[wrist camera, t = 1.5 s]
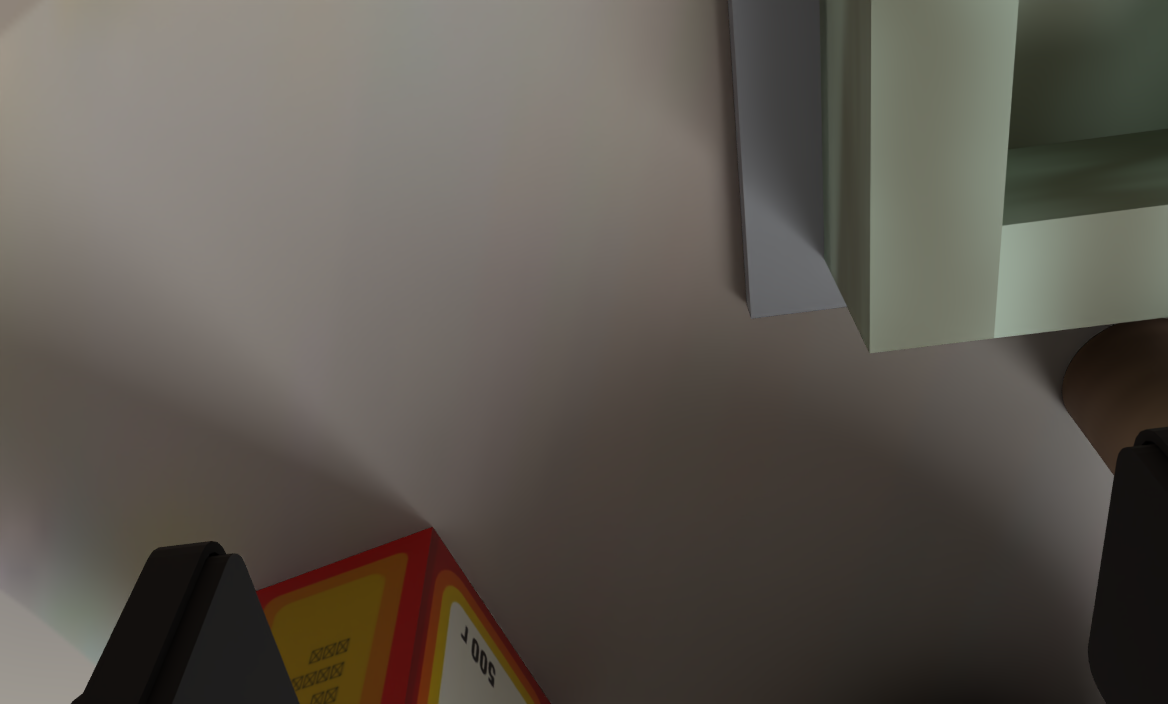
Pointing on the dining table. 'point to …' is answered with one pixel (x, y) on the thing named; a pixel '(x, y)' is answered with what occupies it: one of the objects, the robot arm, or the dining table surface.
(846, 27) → the socket block
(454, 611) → the baking soda box
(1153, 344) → the dowel
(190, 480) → the dining table surface
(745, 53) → the rail board
